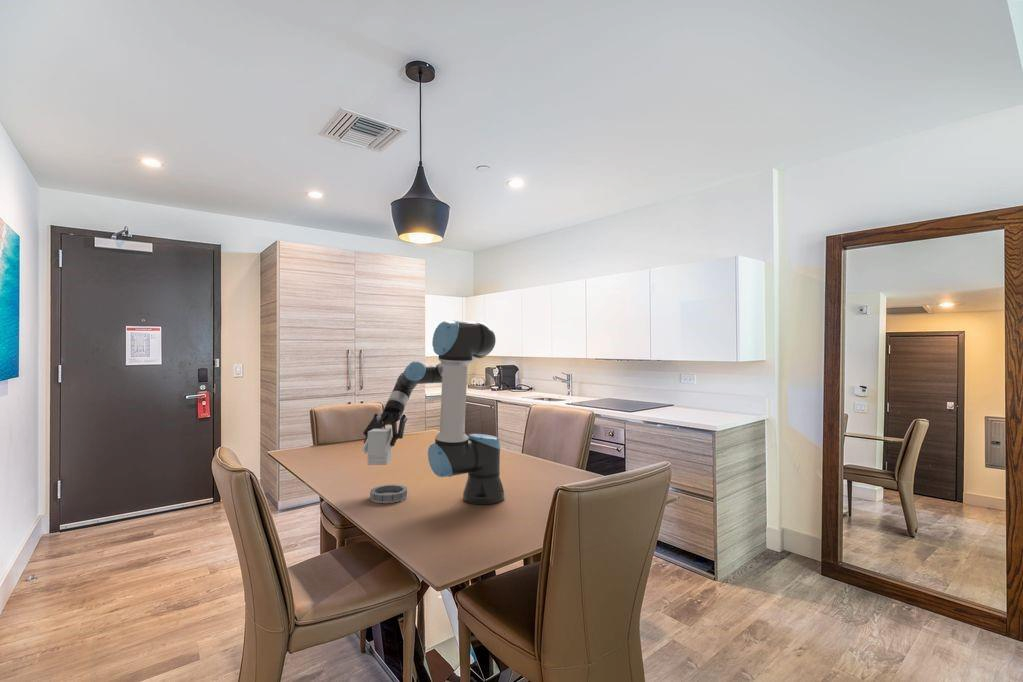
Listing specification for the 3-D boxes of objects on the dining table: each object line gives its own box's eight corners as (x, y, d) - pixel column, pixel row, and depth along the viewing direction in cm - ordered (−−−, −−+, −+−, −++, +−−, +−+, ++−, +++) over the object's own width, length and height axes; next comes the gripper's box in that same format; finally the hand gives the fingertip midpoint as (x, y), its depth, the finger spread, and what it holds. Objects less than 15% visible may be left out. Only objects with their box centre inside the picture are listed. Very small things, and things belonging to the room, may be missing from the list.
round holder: (413, 498, 175) (413, 490, 175) (379, 506, 166) (379, 497, 167) (397, 490, 185) (397, 482, 185) (364, 497, 176) (364, 488, 177)
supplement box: (386, 465, 178) (386, 431, 179) (366, 465, 179) (366, 431, 179) (392, 460, 186) (391, 428, 186) (373, 460, 186) (373, 428, 186)
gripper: (423, 411, 195) (404, 459, 179) (376, 410, 200) (354, 456, 184) (417, 399, 190) (397, 447, 174) (369, 398, 195) (345, 445, 179)
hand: (375, 452), depth 179 cm, fingers closed on supplement box, 9 cm apart
